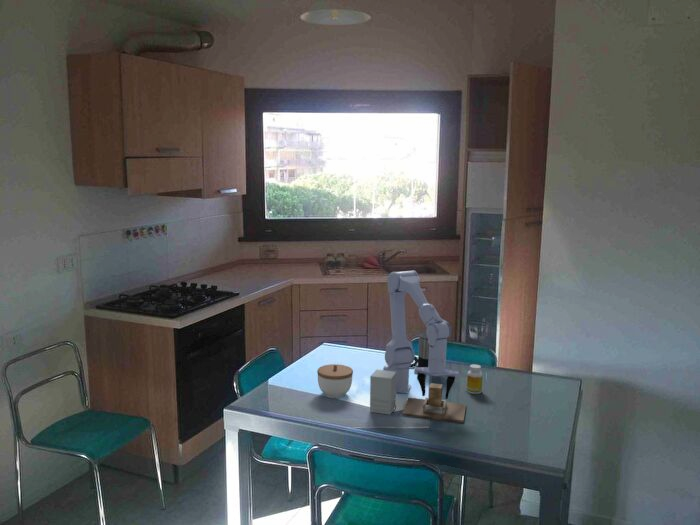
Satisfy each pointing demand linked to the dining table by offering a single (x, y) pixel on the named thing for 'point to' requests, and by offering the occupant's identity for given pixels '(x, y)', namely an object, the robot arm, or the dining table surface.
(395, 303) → the robot arm
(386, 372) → the supplement box
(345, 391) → the lidded bowl
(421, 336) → the milk frother
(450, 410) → the holder board
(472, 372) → the supplement bottle
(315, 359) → the dining table surface
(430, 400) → the brown wooden block
